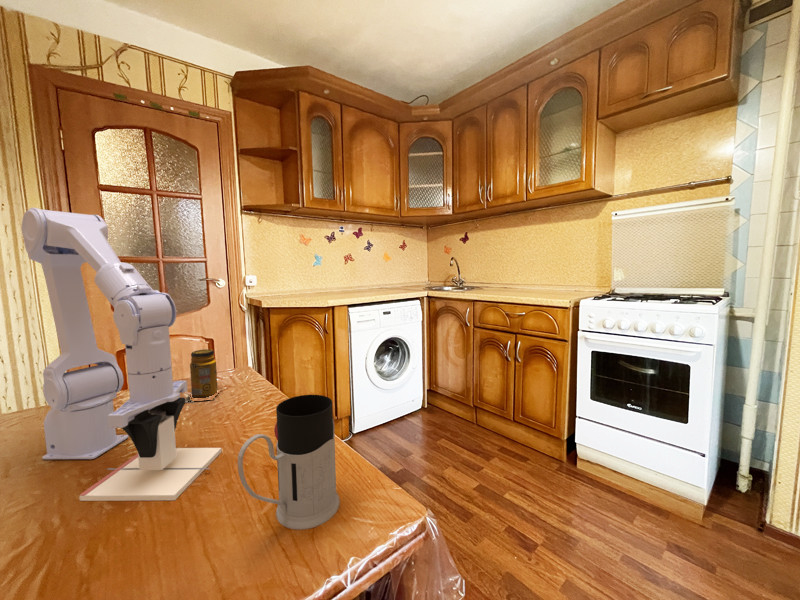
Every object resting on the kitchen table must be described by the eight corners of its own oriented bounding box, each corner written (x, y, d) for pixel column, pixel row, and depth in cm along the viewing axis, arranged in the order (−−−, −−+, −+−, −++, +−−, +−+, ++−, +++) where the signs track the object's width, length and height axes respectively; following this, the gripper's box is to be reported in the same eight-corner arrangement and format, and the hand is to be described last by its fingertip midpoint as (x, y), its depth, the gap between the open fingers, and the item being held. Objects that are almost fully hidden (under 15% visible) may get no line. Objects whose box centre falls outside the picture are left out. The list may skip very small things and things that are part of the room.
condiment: (222, 389, 95) (220, 347, 94) (213, 401, 87) (210, 355, 85) (194, 391, 93) (191, 349, 92) (181, 403, 85) (178, 357, 84)
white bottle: (139, 470, 54) (134, 418, 53) (155, 457, 58) (151, 408, 57) (161, 469, 54) (157, 418, 53) (176, 457, 58) (172, 408, 57)
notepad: (69, 500, 50) (69, 495, 49) (138, 452, 62) (137, 447, 62) (184, 500, 49) (184, 494, 49) (229, 451, 62) (229, 447, 62)
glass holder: (352, 499, 49) (349, 400, 48) (266, 572, 38) (259, 444, 36) (311, 479, 54) (308, 388, 53) (224, 538, 43) (216, 424, 41)
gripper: (140, 384, 47) (148, 476, 48) (201, 356, 61) (206, 428, 63) (89, 384, 47) (99, 476, 48) (163, 357, 61) (168, 428, 63)
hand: (156, 449), depth 56 cm, fingers closed on white bottle, 3 cm apart
